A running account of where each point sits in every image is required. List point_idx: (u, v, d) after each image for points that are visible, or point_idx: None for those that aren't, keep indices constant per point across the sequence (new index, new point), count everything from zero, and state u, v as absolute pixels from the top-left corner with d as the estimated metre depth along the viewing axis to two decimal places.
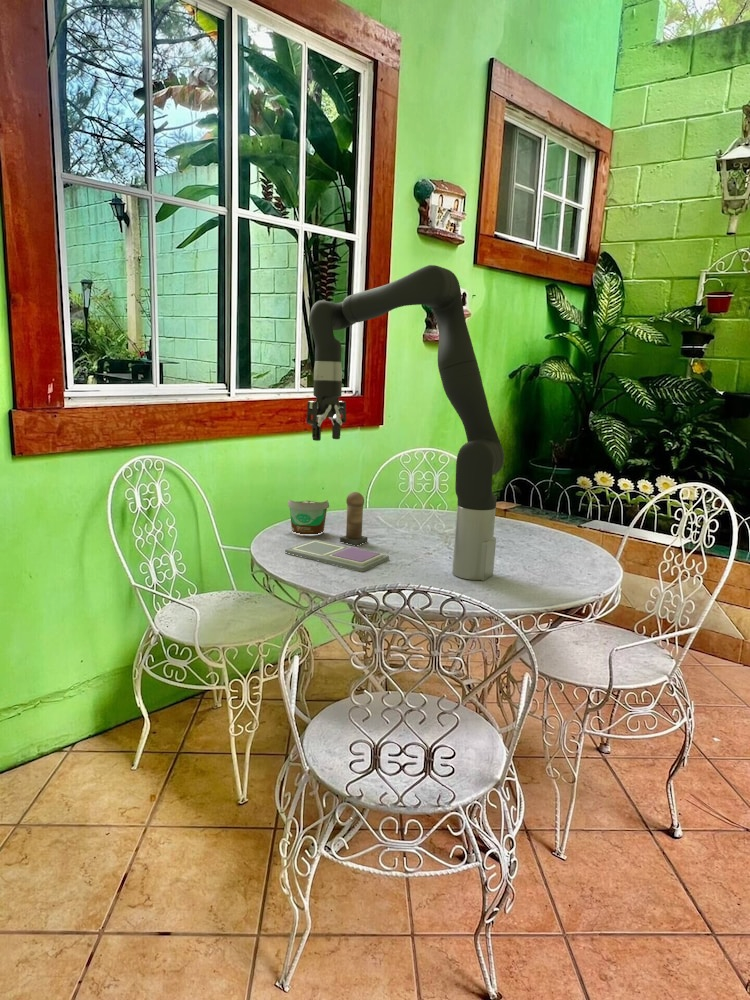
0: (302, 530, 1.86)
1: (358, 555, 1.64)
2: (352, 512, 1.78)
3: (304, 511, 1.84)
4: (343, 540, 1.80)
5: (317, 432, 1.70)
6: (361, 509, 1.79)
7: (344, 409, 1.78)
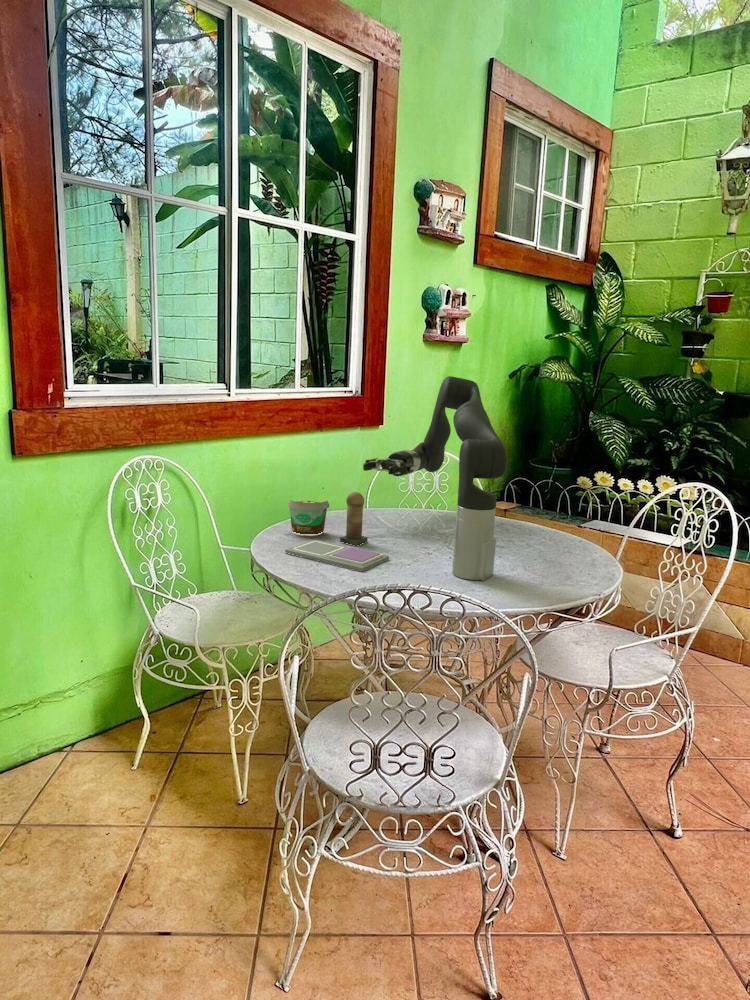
0: (302, 530, 1.86)
1: (358, 555, 1.64)
2: (352, 512, 1.78)
3: (304, 511, 1.84)
4: (343, 540, 1.80)
5: None
6: (361, 509, 1.79)
7: (409, 464, 1.91)
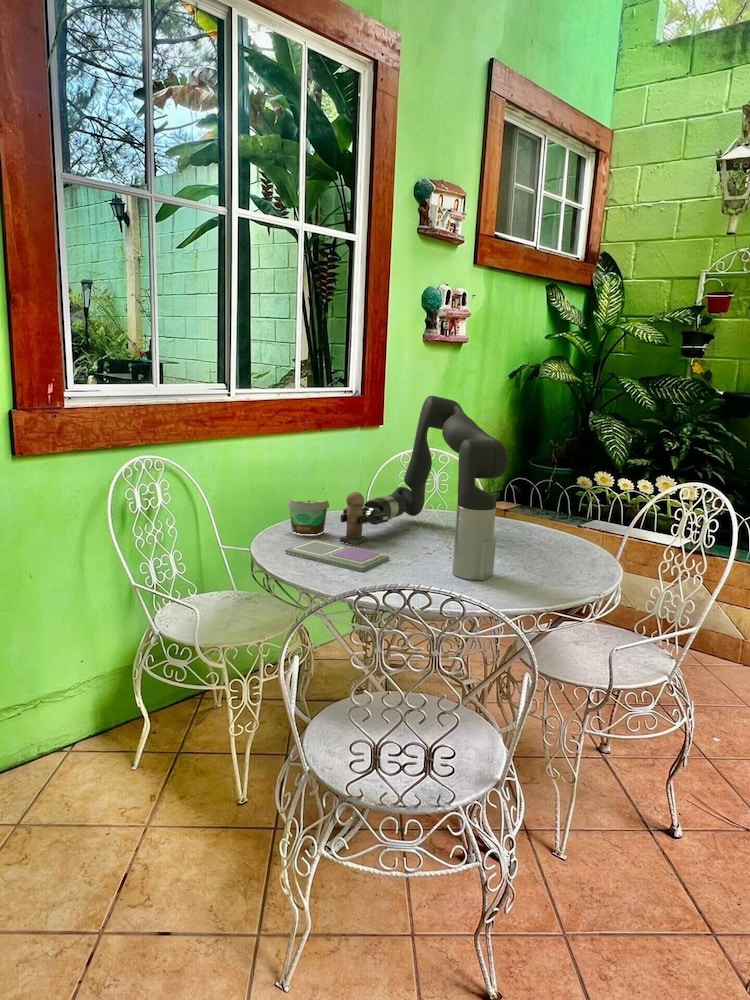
0: (302, 530, 1.86)
1: (358, 555, 1.64)
2: (352, 512, 1.78)
3: (304, 511, 1.84)
4: (343, 540, 1.80)
5: None
6: (361, 509, 1.79)
7: (381, 513, 1.82)
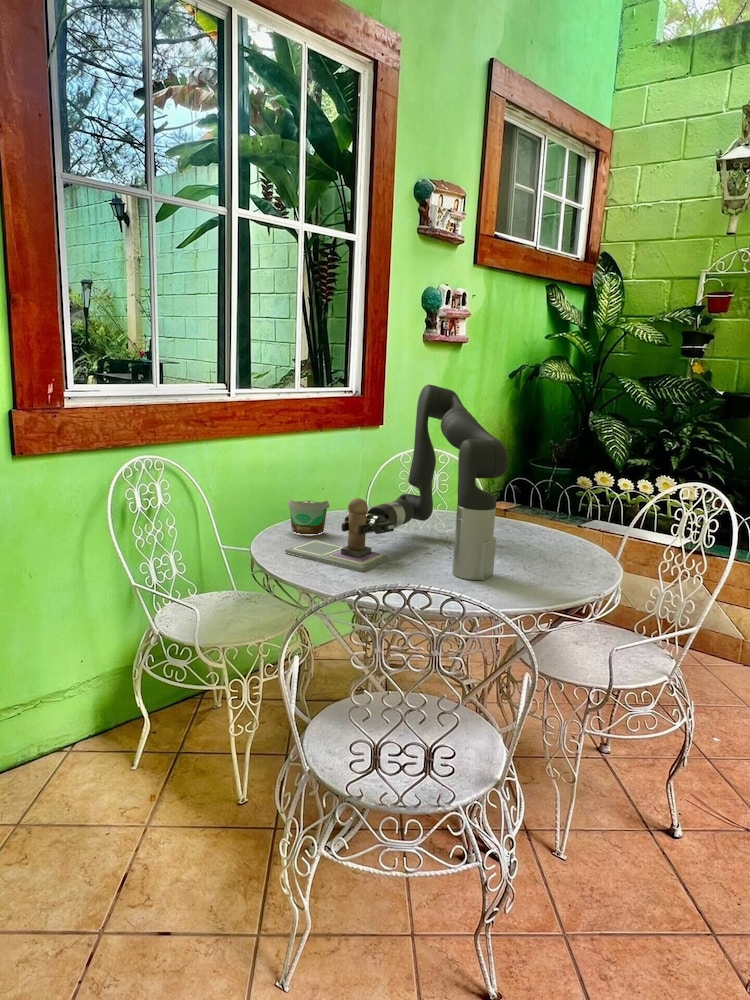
0: (302, 530, 1.86)
1: None
2: (354, 521, 1.61)
3: (304, 511, 1.84)
4: (344, 551, 1.63)
5: None
6: (365, 517, 1.62)
7: (386, 522, 1.65)
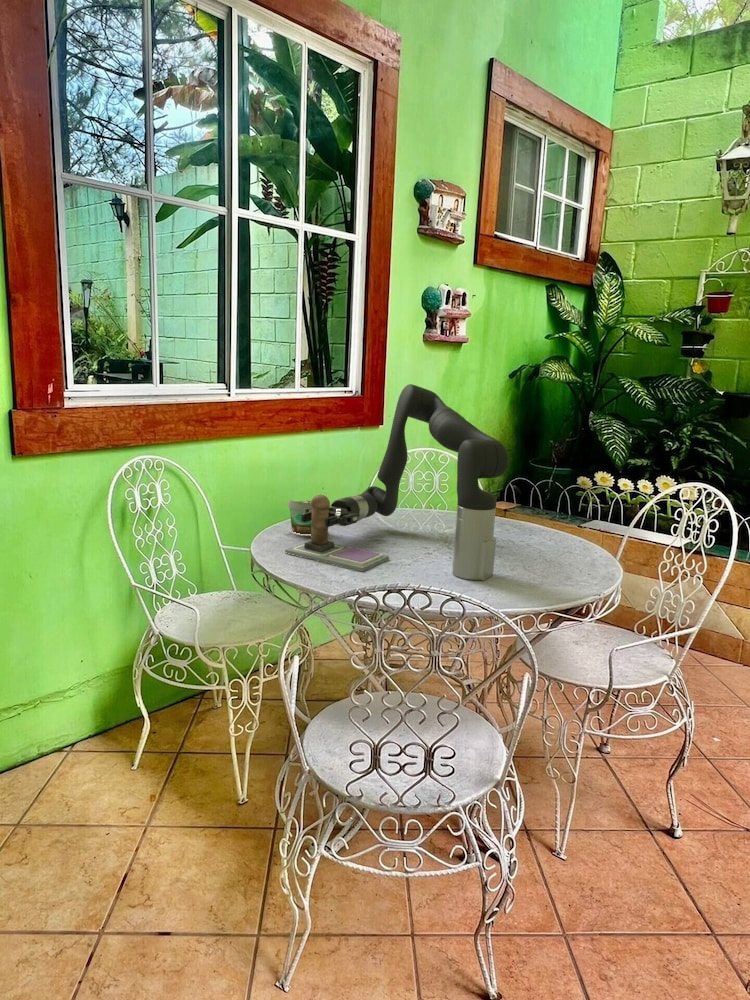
0: (302, 530, 1.86)
1: (358, 555, 1.64)
2: (317, 516, 1.67)
3: (304, 511, 1.84)
4: (308, 546, 1.70)
5: None
6: (327, 512, 1.68)
7: (351, 514, 1.71)
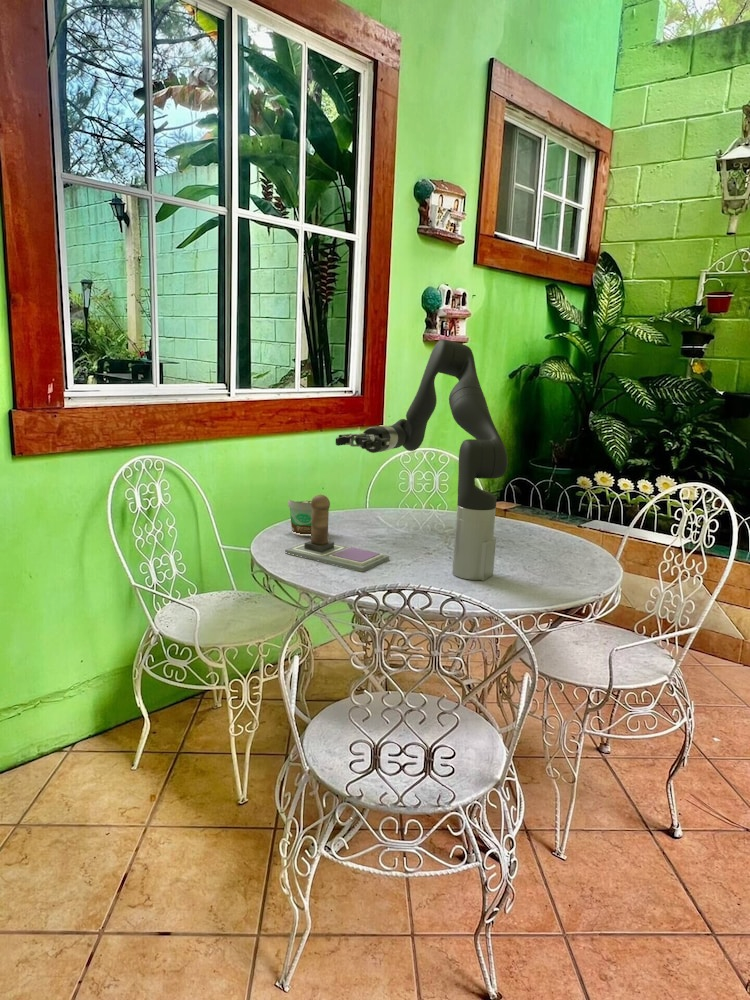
0: (302, 530, 1.86)
1: (358, 555, 1.64)
2: (317, 516, 1.67)
3: (304, 511, 1.84)
4: (308, 546, 1.70)
5: None
6: (327, 512, 1.68)
7: (384, 438, 1.80)
